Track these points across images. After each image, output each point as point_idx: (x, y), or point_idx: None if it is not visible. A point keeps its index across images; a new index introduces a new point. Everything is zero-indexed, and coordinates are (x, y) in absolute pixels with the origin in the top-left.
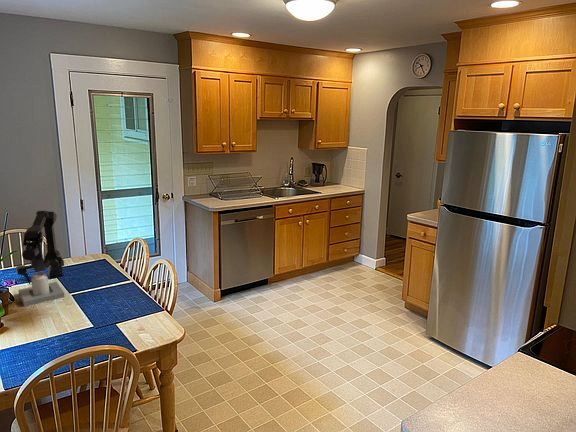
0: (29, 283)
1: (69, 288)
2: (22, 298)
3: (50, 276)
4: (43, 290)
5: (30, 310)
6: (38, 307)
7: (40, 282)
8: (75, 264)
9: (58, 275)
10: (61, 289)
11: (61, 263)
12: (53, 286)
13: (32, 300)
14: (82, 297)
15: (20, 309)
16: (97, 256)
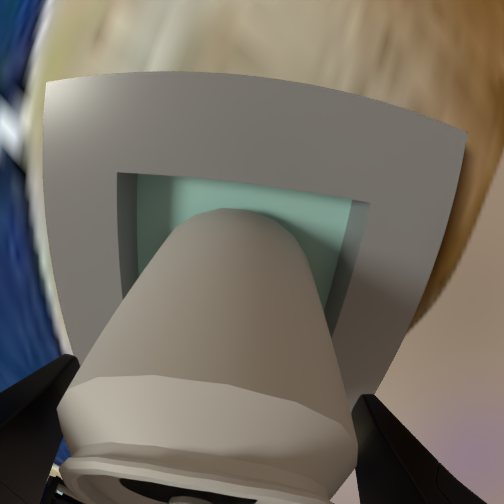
0: (375, 402)
1: (24, 258)
2: (442, 237)
3: (28, 386)
4: (216, 232)
5: (422, 8)
6: (354, 3)
7: (228, 320)
8: None
9: None
10: (46, 194)
11: (48, 491)
12: (102, 326)
13: (395, 106)
14: (6, 14)
15: (473, 100)
16: None
